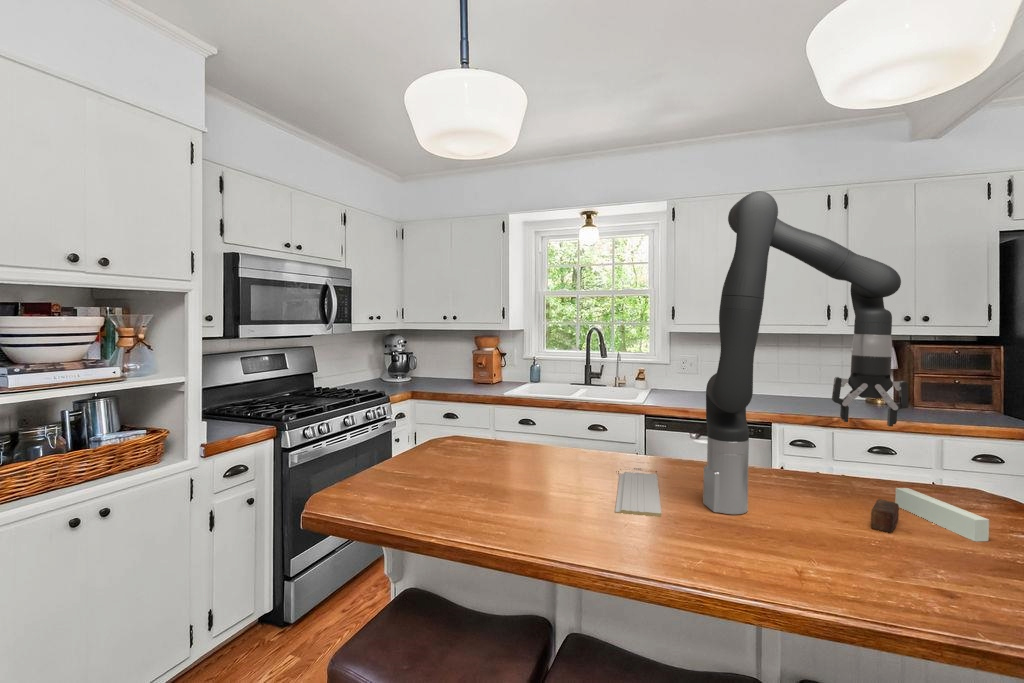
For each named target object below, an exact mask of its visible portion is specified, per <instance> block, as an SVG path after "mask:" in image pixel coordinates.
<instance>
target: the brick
mask: <svg viewBox="0 0 1024 683" xmlns="http://www.w3.org/2000/svg"><path fill="white" fill-rule="evenodd" d="M899 512H900V508H899V506H898V504H897V503H895V501H891V500H887V499H882V498H878V499H876V501H875V502H874V505H873V507H872V508H871V513H870V529H872V530H874V531H878V530H879V531H878V532H882V531H883V533H886V532H888V533H887V534H891V532H892V533H893V531H894V530H895V528H896V526H897V524H898V522H899V515H900V514H899Z"/></svg>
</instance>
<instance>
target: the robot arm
mask: <svg viewBox="0 0 1024 683" xmlns="http://www.w3.org/2000/svg"><path fill="white" fill-rule="evenodd" d="M727 216H728V217H727V221H728V222H727V223H728V226H729V227H730V229H731V230H732V231H733V232H734V233H735V234H736V238H735V247H734V252H733V253H734V254H733V257H732V260H731V263H730V266H729V269H728V270H727V273H726V276H725V280H724V283H723V286H722V290H721V296H720V304H719V310H718V311H719V313H718V328H719V340H720V355H719V360H718V364H717V371H716V373H713V375H712V376H710V377H709V379H708V382H707V384H706V389H705V421H706V428H707V434H706V436H707V443H706V444H707V445H706V446H707V447H706V448H707V449H706V450H707V452H706V454H707V456H706V458H707V459H706V465H704V466H703V486H702V487H703V490H702V492H703V494H702V495H703V497H702V502H703V503H702V504H703V505H705V506H706V507H707V508H708V509H709V510H711V511H712V512H713V513H721V514H727V515H743V514H746V513H747V512H748V508H749V458H750V457H749V456H750V455H749V453H750V452H749V451H750V450H749V449H750V448H749V447H750V444H749V443H750V439H749V438H750V428H749V426H748V421H747V407H748V406H749V404H750V403H751V401H752V398H753V395H754V394H753V392H754V360H755V358H754V357H755V351H756V346H757V343H758V336H759V333H760V332H759V331H760V325H761V319H762V315H763V307H764V301H765V300H764V299H765V290H766V284H767V283H766V282H767V275H768V274H767V273H768V262H769V261H768V260H769V254H770V248H771V247H772V248H774V249H776V250H778V251H781V252H783V253H785V254H787V255H789V256H791V257H793V258H795V259H797V260H798V261H801V262H802V263H804V264H806V265H808V266H809V267H811V268H813V269H815V270H817V271H818V272H821V273H822V274H824V275H826V276H828V277H829V278H832V279H833V280H838V281H845V282H848V283H850V298H851V304H852V309H853V312H854V325H853V338H852V344H851V350H850V352H851V357H850V358H851V360H850V361H851V362H850V376H849V378H843V377H840V376H835V377H834V379H833V387H832V395H831V401H832V402H833V403H835V404H838V405H840V409H839V410H840V411H839V412H840V414H839V415H840V416H839V417H840V419H841V420H842V421H843V422H844V423H849V412H850V411H849V410H850V406H849V405H850V404H851V403H852V402H853V401H854V400H856V399H857V397H860V398H863V399H867V398H872V399H875V400H876V399H877V400H878V399H880V398H881V399H882V400H883V401H884V403H886V405H887V406H888V407H889V408H888V409H887V416H886V417H887V421H886V425H887V427H894V425H896V424H897V422H898V411H899V410H901V409H908V408H909V384H908V382H906V381H905V380H900V381H892V379H891V378H892V377H891V373H892V356H893V354H892V353H893V341H892V330H893V328H892V327H893V316H892V311H890V310H888V309H886V308H885V303H884V298H887V297H890V296H892V295H894V294H896V293H897V292H898V291H899V289H900V287H901V284H902V279H901V276H900V274H899V272H897V270H895V269H894V268H893V267H891V266H890V265H888V264H886V263H883V262H881V261H878V260H876V259H873V258H870V257H868V256H865V255H860V254H857V253H855V252H854V251H852V250H850V249H849V248H847V247H845V246H843V245H841V244H840V243H838V242H836V241H835V240H832V239H830V238H827V237H825V236H822V235H819V234H816V233H812V232H810V231H806V230H804V229H800V228H797V227H795V226H792V225H790V224H788V223H786V222H784V221H782V219H779V218H778V216H779V207H778V203H777V201H776V199H775V198H774V197H773V195H772V194H770V193H769V192H767V191H762V190H758V191H754V192H751V193H748V194H746V195H745V196H742V198H741V199H739V200H738V201H737V202H736V203H734V205H733V206H732V207H731V208H730V210H729V212H728V215H727ZM846 384H848V386H849V387H850V388H851V390H850V391H849V392H848V393H847V394H846V395H845V397H843V398H841V397H840V396H841V390H842V388H844V387H845V385H846ZM893 387H894V388H895V390H896V391H898V402H895V401H894V399H892V397H891V396H890V394H888V393H887V392H888V391H889V390H890V389H892V388H893Z"/></svg>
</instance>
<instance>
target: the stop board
mask: <svg viewBox="0 0 1024 683" xmlns="http://www.w3.org/2000/svg"><path fill="white" fill-rule="evenodd" d="M894 497H895V501H894V502H895V503H897V504H898V506H899V507H900V508H902V509H901V510H903V509H904V510H903V511H905V510H907V511H909V512H911V513H910V514H912V513H913V514H912V515H914V514H915V515H914V516H916V515H917V517H918V516H919V517H918V518H921V517H922V518H921V519H923V518H924V519H923V520H925V519H926V520H925V521H927V520H928V522H930V523H932V522H933V524H934V523H935V524H934V525H936V524H937V525H936V526H939V527H941V528H944V529H945V528H946V529H945V530H948V531H950V532H953V533H954V534H957V535H960V536H961V537H963V538H966V539H968V540H969V541H973V542H989V541H990V540H989V535H990V534H989V532H990V519H989V518H985V517H983V516H981V515H978V514H976V513H973V512H972V511H971V512H970V511H968V510H966V509H963V508H960V507H958V506H956V505H952V504H950V503H948V502H945V501H942V500H941V499H940V500H939V499H937V498H934V497H932V496H929V495H927V494H924V493H922V492H919V491H916V490H915V489H911V488H908V487H895V496H894ZM900 508H899V509H900ZM907 511H906V512H907ZM909 512H908V513H909Z"/></svg>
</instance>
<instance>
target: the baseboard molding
mask: <svg viewBox="0 0 1024 683" xmlns="http://www.w3.org/2000/svg"><path fill="white" fill-rule="evenodd" d="M620 470H621V471H622V468H619V470H617V471H616V474H617V475H618V474H619V479H618V486H617V494H616V496H617V497H616V503H615V509H614V510H615V511H614V513H615V514H621V513H623V514H624V515H632V514H633V515H634V516H643V515H645V517H654V516H655V518H656V517H657V518H661V517H662V507H661V498H660V497H661V496H660V491H659V481H658V474H656V473H657V472H658V471H657V470H653V471H652V470H651V472H655V473H646V472H644V473H641V472H642V468H640V467H638V468H636V467H635V468H633V470H635V471H639V472H628V471H629V469H626V468H624V470H626V471H625V472H623V473H620ZM640 471H641V472H640ZM623 514H622V515H623Z"/></svg>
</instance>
